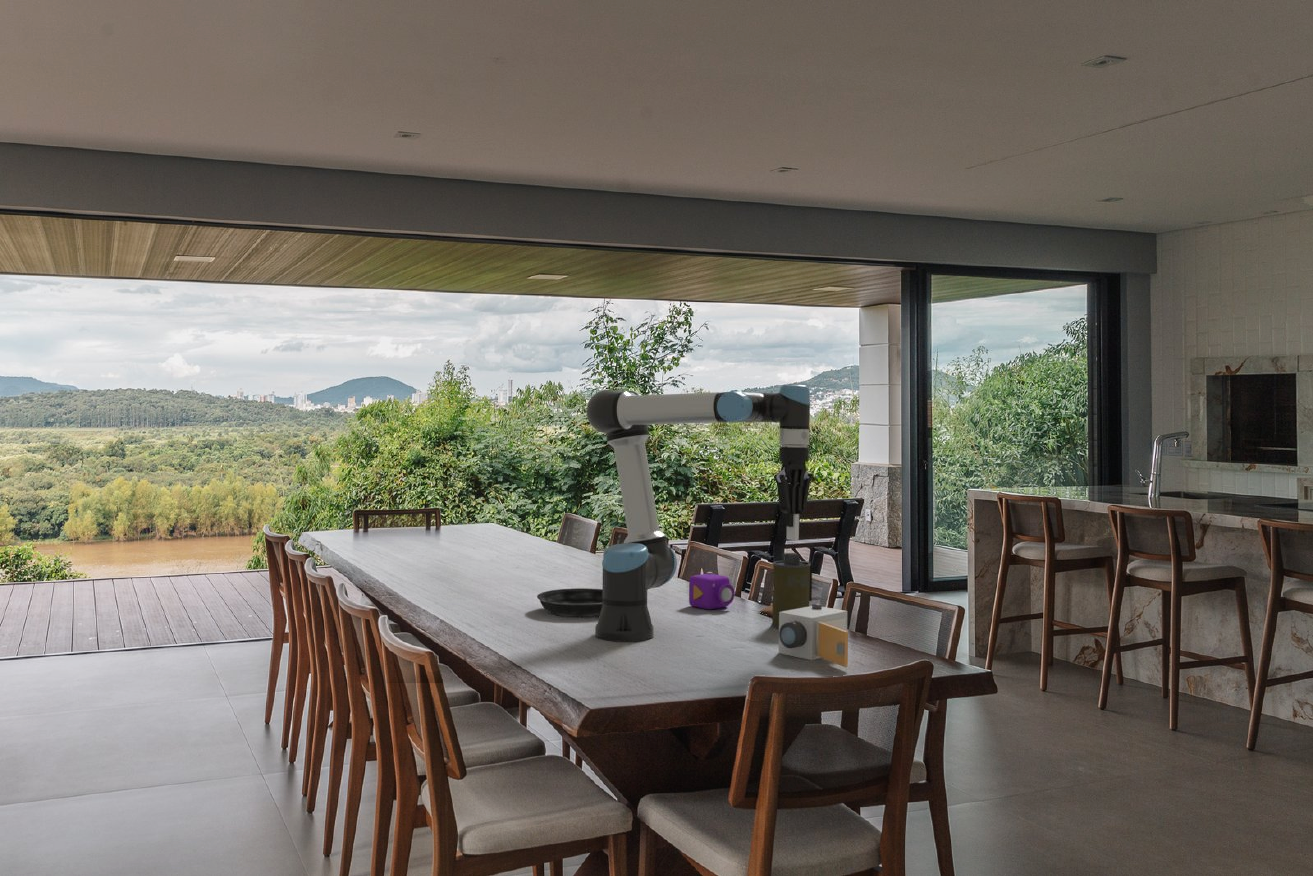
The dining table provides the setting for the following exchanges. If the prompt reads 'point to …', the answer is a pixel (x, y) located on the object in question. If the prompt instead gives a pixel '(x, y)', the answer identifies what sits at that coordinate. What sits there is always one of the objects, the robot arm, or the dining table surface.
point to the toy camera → (710, 591)
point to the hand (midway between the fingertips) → (792, 539)
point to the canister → (791, 585)
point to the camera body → (806, 629)
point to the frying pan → (572, 602)
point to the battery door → (832, 644)
